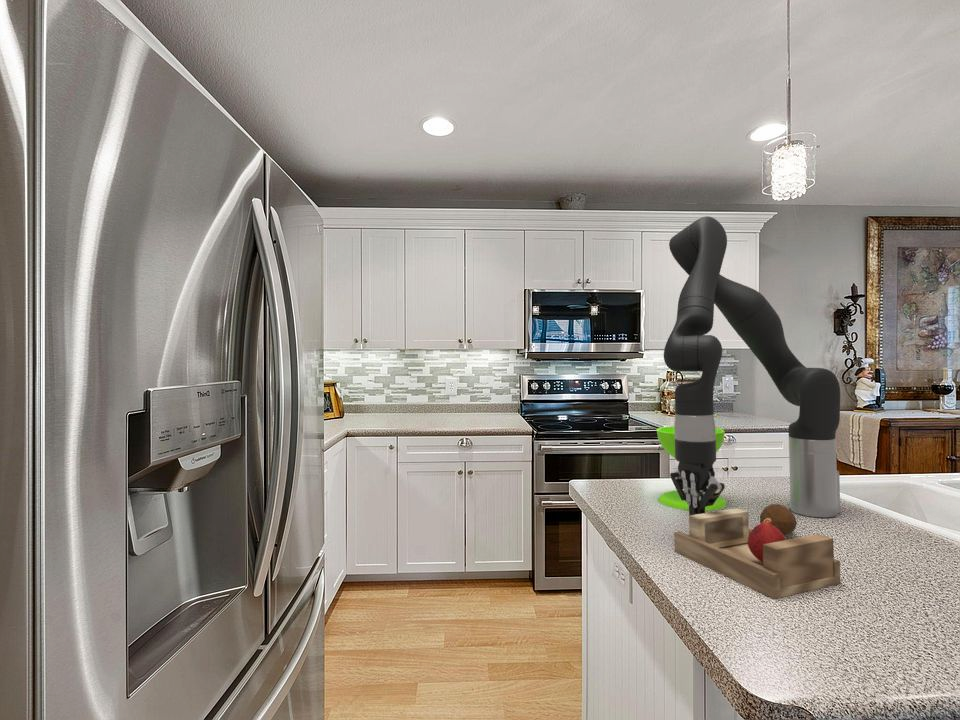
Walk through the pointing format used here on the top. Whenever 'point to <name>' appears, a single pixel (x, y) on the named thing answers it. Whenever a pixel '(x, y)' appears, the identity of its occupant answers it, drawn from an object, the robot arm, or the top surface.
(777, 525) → the potato
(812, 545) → the vise base
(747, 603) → the top surface
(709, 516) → the jaw
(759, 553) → the onion
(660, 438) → the wineglass
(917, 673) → the top surface
